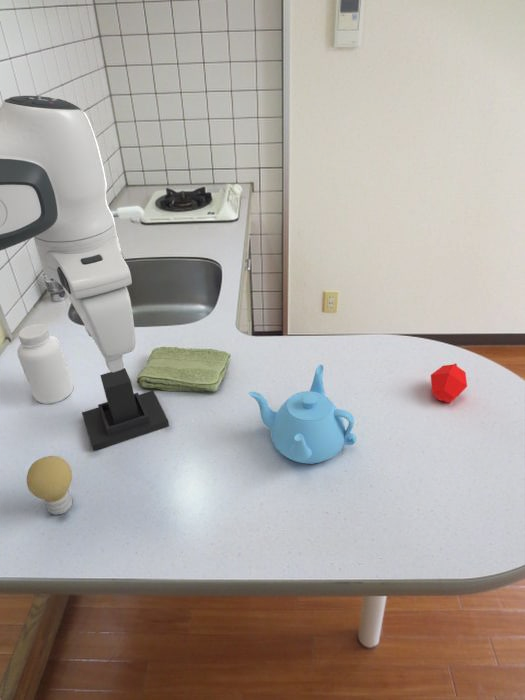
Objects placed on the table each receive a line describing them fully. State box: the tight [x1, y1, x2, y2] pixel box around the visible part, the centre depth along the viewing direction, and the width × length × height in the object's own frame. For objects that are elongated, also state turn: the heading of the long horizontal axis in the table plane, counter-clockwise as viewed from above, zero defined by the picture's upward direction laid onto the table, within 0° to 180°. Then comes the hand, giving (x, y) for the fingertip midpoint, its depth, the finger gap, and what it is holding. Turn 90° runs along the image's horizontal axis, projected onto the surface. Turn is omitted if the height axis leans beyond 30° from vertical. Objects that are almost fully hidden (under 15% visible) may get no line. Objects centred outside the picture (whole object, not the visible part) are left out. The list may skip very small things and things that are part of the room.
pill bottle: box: [16, 323, 75, 405], centre depth 103 cm, size 8×8×15 cm
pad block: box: [100, 367, 139, 425], centre depth 96 cm, size 4×4×9 cm
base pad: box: [81, 390, 170, 452], centre depth 98 cm, size 14×10×3 cm
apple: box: [430, 363, 468, 404], centre depth 101 cm, size 7×7×8 cm
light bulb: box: [26, 455, 73, 516], centre depth 80 cm, size 6×6×10 cm
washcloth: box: [135, 346, 232, 393], centre depth 110 cm, size 13×18×3 cm
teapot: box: [248, 364, 357, 465], centre depth 90 cm, size 15×15×10 cm
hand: (104, 349), depth 68 cm, fingers open, 8 cm apart
